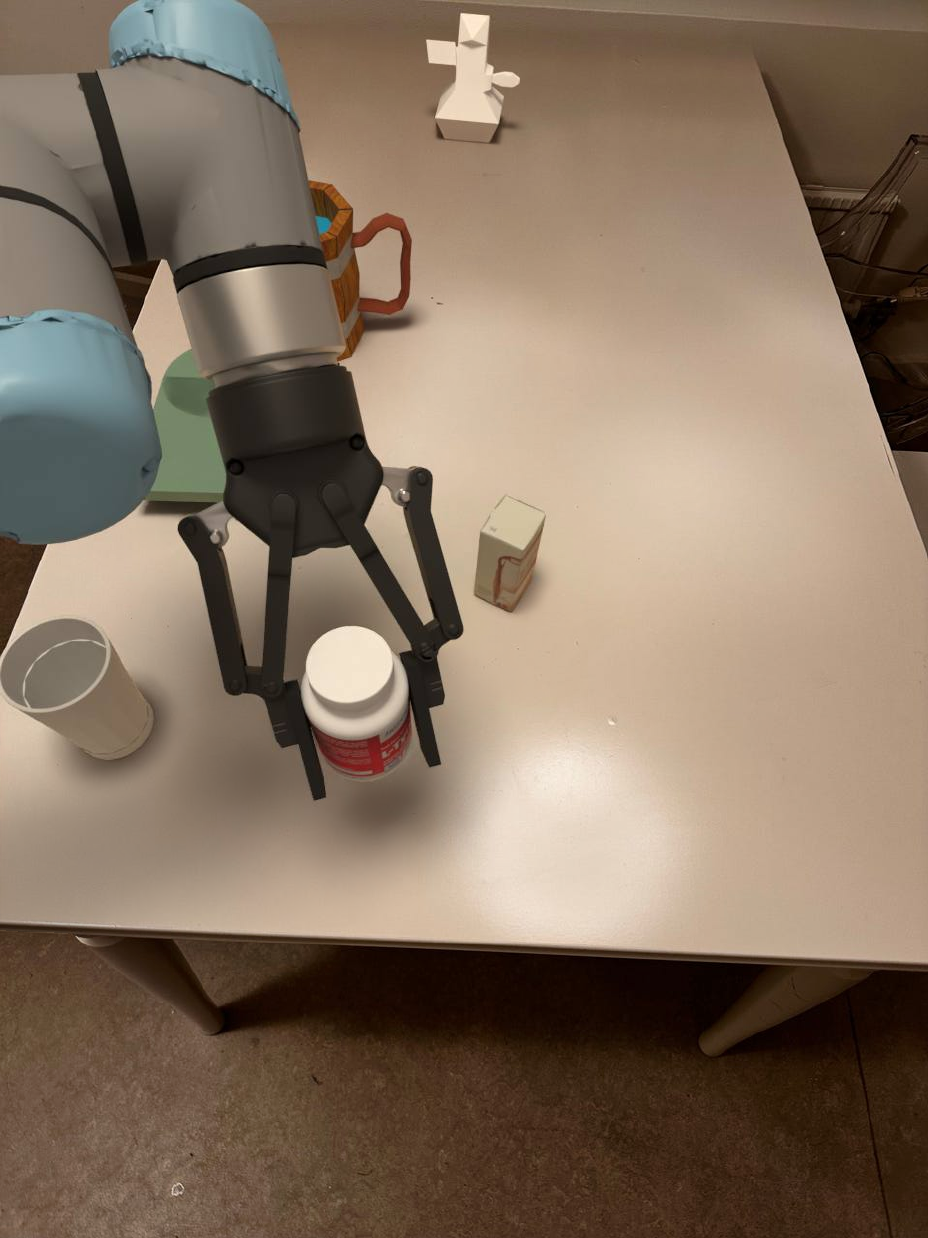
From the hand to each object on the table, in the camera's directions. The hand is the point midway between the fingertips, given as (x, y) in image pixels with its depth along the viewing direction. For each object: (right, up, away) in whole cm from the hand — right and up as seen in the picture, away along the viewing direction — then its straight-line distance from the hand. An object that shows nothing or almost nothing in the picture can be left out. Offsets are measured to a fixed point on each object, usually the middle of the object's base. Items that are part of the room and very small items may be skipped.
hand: (375, 772), depth 44 cm
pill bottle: (-1, +1, +5) cm, 5 cm away
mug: (-11, +44, +47) cm, 65 cm away
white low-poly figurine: (+6, +85, +71) cm, 111 cm away
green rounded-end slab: (-22, +29, +37) cm, 52 cm away
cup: (-25, 0, +20) cm, 32 cm away
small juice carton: (+9, +12, +29) cm, 32 cm away
